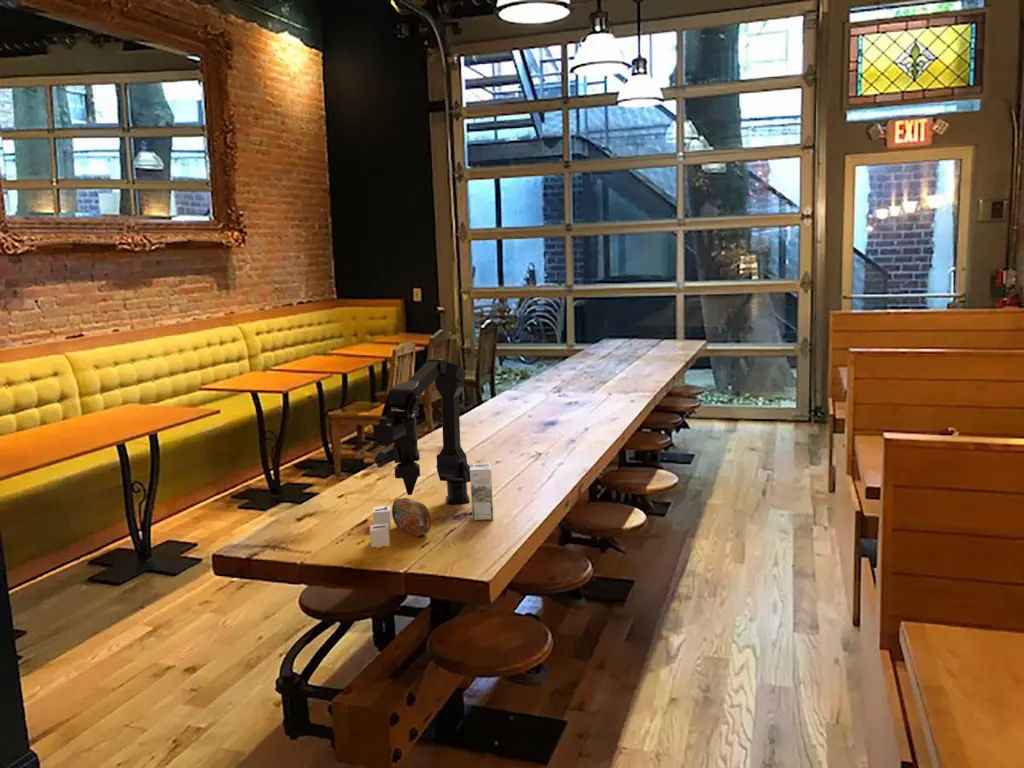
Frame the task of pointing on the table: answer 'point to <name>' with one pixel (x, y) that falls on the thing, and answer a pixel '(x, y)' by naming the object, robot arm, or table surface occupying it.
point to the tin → (411, 516)
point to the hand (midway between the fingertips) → (409, 494)
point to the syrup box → (481, 492)
